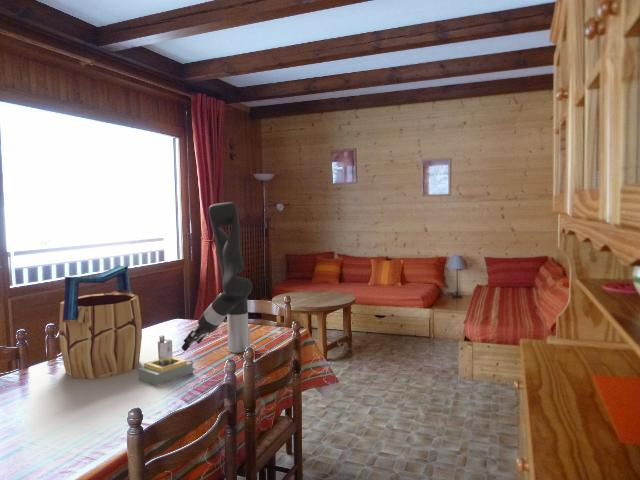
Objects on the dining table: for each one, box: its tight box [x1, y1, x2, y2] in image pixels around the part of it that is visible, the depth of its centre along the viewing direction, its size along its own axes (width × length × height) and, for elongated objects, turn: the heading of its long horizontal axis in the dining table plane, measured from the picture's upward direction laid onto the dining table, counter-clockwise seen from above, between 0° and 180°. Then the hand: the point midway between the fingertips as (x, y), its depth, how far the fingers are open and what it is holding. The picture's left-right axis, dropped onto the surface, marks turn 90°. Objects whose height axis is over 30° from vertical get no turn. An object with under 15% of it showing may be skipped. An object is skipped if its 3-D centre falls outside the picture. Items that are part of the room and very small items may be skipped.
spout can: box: [157, 335, 174, 367], centre depth 181 cm, size 5×5×13 cm
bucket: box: [58, 265, 143, 380], centre depth 191 cm, size 39×31×40 cm
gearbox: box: [137, 356, 194, 386], centre depth 183 cm, size 20×12×6 cm, turn 143°
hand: (190, 345), depth 179 cm, fingers open, 8 cm apart
